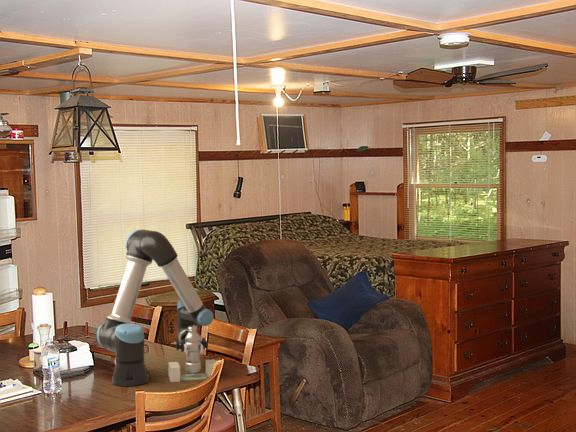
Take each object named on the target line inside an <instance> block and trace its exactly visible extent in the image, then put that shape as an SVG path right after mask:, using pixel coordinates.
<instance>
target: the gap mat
mask: <svg viewBox="0 0 576 432" xmlns="http://www.w3.org/2000/svg"><path fill="white" fill-rule="evenodd" d="M207 379H208V377H207V375H206V372H204V373H188V374H187V373H186V374H180V382H181V381H182V382H184V381H198V380H207Z"/></svg>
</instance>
